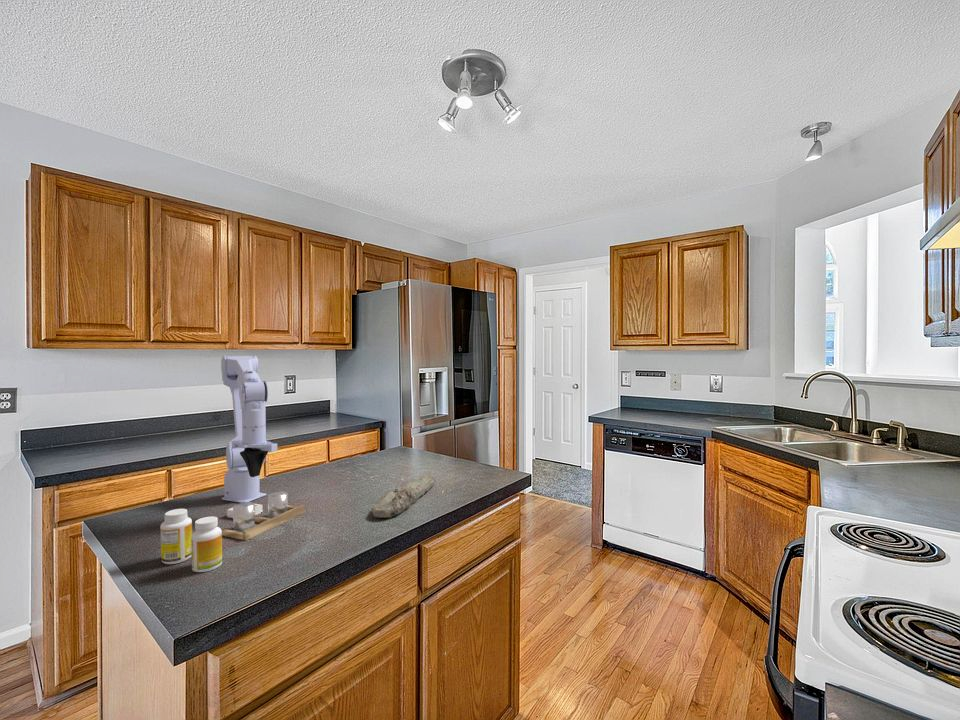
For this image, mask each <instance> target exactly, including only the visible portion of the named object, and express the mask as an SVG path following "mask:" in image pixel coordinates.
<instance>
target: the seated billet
mask: <svg viewBox="0 0 960 720" xmlns="http://www.w3.org/2000/svg"><path fill="white" fill-rule="evenodd" d="M288 498H289V497H288V492H287V491H284V490H283V491H282V490H281V491H274V492H271V493H268V494H267V518H273V517H276V516H278V515H280V514H282V513H285V512H287V511H288V505H289V504H288V501H289V500H288Z"/></svg>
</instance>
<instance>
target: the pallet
mask: <svg viewBox="0 0 960 720" xmlns="http://www.w3.org/2000/svg"><path fill="white" fill-rule="evenodd" d="M305 506H306V505H305V504H300V505H298V506H295V505H289V504H288V511H287V512H285V513H282V514H280V515H278V516H276V517H273V518H268V517H265V516H259V515H255V523H258V524H255V526H254V527H251V528H249V529H247V530H245V531H243V532H238V531H234V530H232V529H227V528H224V529H221V530H222V537H228V538H232V539H237V540H241V541H242V540H243V541H249V539H252V538H254V537H256V536H259V535H260V534H262V533H265V532H267V531H268V530H271V529H273V528H275V527H277V526H279V525H281V524H283V523H286V522H287V521H290V520H292V519H294V518H296V517H298V516H301V515H303V514H304V513H306V507H305Z"/></svg>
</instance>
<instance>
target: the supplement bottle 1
mask: <svg viewBox="0 0 960 720" xmlns="http://www.w3.org/2000/svg"><path fill="white" fill-rule="evenodd" d="M159 529H160V558H161V562H162V563H163V564H165V565H175V564H180V563H183V562H185V561H187V560H189V559H190V558H191V536H192V534H193V520H192V518H191V517H189V516H188V510H187V509H186V508H175V509H170V510H169V511H167V512H165V513H164V521H163V522H162V523H161V524H160V528H159Z"/></svg>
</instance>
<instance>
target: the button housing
mask: <svg viewBox="0 0 960 720" xmlns="http://www.w3.org/2000/svg"><path fill="white" fill-rule="evenodd" d="M263 508H264V507H263V504H259V503H255V516H258V515H259V514H262V513H263V511H264V509H263ZM261 512H262V513H261ZM226 514H227V515H226V517H227V518H230V519H231V518H232V519H233V507H230V508H228V509H226Z"/></svg>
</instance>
